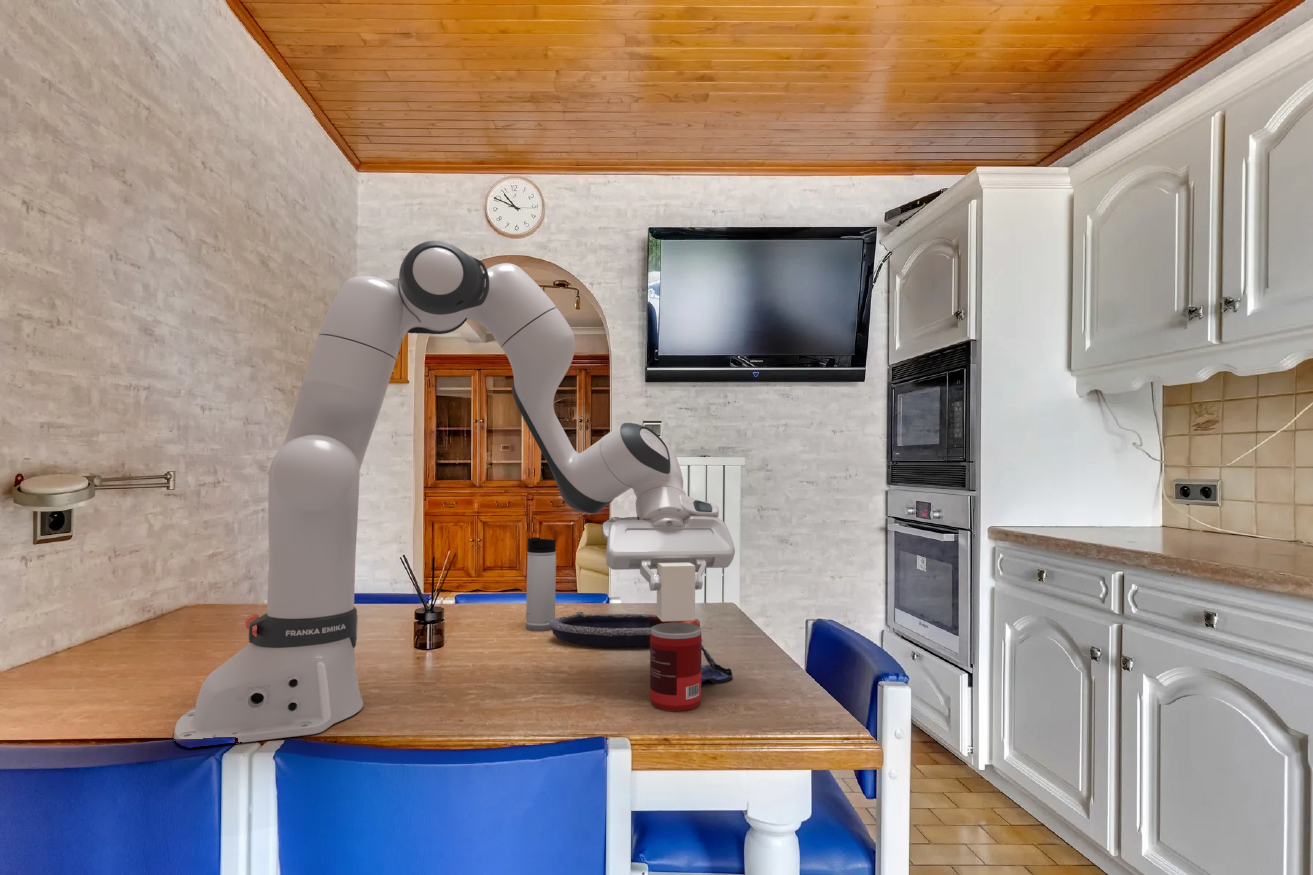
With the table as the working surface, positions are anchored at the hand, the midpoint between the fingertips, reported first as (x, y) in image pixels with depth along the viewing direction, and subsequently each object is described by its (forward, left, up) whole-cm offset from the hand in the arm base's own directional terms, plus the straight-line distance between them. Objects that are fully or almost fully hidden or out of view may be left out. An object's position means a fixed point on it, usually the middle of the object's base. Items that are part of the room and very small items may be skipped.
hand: (676, 587), depth 100 cm
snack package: (+10, +9, -18) cm, 23 cm away
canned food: (0, +1, -17) cm, 17 cm away
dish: (+12, +36, -18) cm, 42 cm away
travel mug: (+1, +56, -17) cm, 58 cm away
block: (0, +1, -5) cm, 5 cm away
